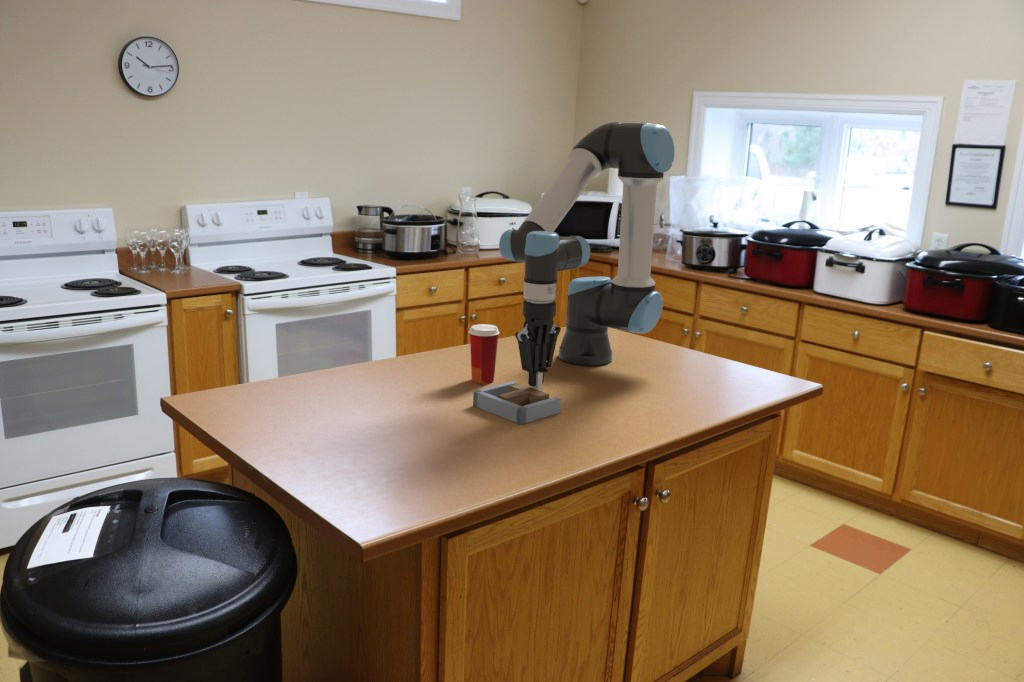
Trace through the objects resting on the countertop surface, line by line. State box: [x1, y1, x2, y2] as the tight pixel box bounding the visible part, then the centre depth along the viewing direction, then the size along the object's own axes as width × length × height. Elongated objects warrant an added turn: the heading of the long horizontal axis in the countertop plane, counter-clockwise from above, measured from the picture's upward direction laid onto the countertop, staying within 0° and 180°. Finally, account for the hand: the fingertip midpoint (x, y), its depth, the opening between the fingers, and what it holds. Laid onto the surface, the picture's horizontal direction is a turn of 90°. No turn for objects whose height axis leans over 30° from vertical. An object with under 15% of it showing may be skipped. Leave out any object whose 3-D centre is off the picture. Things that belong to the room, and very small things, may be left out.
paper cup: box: [467, 323, 500, 385], centre depth 213 cm, size 8×8×14 cm
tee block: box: [498, 383, 550, 406], centre depth 194 cm, size 10×10×4 cm
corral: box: [472, 381, 562, 425], centre depth 194 cm, size 16×12×4 cm
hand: (535, 398), depth 198 cm, fingers closed
